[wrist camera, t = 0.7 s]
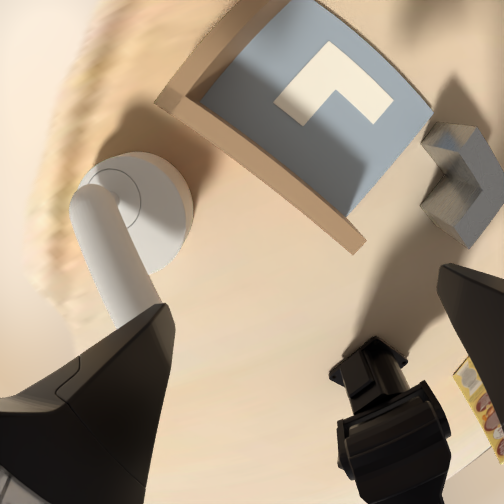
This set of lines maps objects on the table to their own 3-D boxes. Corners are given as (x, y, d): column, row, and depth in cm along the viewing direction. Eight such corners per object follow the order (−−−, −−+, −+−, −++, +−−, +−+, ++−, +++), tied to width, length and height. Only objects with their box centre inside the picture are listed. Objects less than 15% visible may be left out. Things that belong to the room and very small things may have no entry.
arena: (429, 112, 18) (469, 114, 13) (333, 226, 22) (353, 255, 17) (285, -14, 14) (294, -47, 10) (176, 107, 18) (153, 103, 14)
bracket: (474, 175, 20) (512, 190, 15) (435, 225, 21) (468, 249, 17) (437, 122, 18) (477, 126, 13) (393, 176, 20) (427, 192, 15)
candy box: (450, 376, 30) (498, 467, 16) (470, 352, 28) (527, 442, 14) (481, 380, 31) (524, 455, 17) (499, 359, 29) (547, 433, 15)
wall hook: (99, 371, 15) (-7, 241, 12) (142, 291, 24) (72, 195, 21) (211, 320, 14) (77, 137, 10) (226, 241, 22) (150, 127, 19)
